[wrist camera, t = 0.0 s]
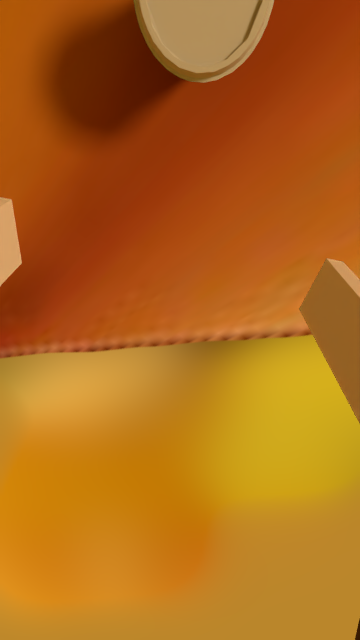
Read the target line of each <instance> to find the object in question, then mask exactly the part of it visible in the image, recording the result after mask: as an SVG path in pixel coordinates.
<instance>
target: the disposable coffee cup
mask: <svg viewBox="0 0 360 640" xmlns="http://www.w3.org/2000/svg"><path fill="white" fill-rule="evenodd" d="M273 2H274V0H134V6H135V12H136V16H137V20H138V23H139V27H140V30H141V32H142V34H143V37H144V39H145V41H146V43H147V45H148V47H149V48H150V50H151V52H152V53H153V55H154V56H155V58H156V59H157V60H158V61H159V62H160V63H161V64H162V65H163V66H164V67H165V68H166V69H167V70H168V71H170V72H171V73H173V74H174V75H176V76H178V77H179V78H182V79H185V80H187V81H191V82H209V81H214V80H218V79H220V78H222V77H224V76H226V75H228V74H230V73H232V72H233V71H234V70H235V69H236V68H238V67H239V66H240V65H241V64H242V63H243V62H244V61H245V60H246V59H247V58H248V56H249V55H250V54H251V53H252V52H253V50H254V49H255V47H256V45H257V44H258V42H259V40H260V39H261V37H262V34H263V32H264V30H265V28H266V26H267V23H268V20H269V17H270V14H271V11H272V7H273Z"/></svg>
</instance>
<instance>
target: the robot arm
mask: <svg viewBox="0 0 360 640" xmlns="http://www.w3.org/2000/svg"><path fill="white" fill-rule="evenodd" d="M21 263H22V261H21V255H20V249H19V243H18V237H17V230H16V224H15V218H14V212H13V206H12V200H11V199H5V198H0V286H1V284H2V283H3V282H4V281H5V280H6V279H7V278H8V277H9V276H10V275H11V274H12V273H13V272H14V271H15V270H16V269H17V268H18V267H19V265H20V264H21ZM299 310H300V312H301V314H302V315H303V317H304V319H305V321H306V323H307V325H308V327H309V329H310V331H311V332H312V334H313V336H314V338H315V340H316V342H317V344H318V346H319V347H320V349H321V351H322V353H323V355H324V357H325V359H326V361H327V363H328V364H329V366H330V368H331V370H332V372H333V374H334V376H335V378H336V380H337V381H338V383H339V385H340V387H341V389H342V391H343V393H344V395H345V396H346V399H347V400H348V402H349V404H350V406H351V408H352V410H353V412H354V414H355V416H356V417H357V419H358V421H359V423H360V279H359V278H358V277H357V276H356V275H355V274H354V273H353V272H352V271H351V270H350V269H349V268H348V267H347V266H346V264H345V263H344V262H343V261H337V260H332V259H327V258H326V260H325V262H324V264H323V266H322V268H321V269H320V271H319V273H318V275H317V277H316V279H315V281H314V282H313V284H312V286H311V288H310V290H309V292H308V293H307V295H306V297H305V299H304V301H303V303H302V304H301V306H300V308H299ZM355 640H360V620H359V624H358V629H357V633H356V638H355Z"/></svg>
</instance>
